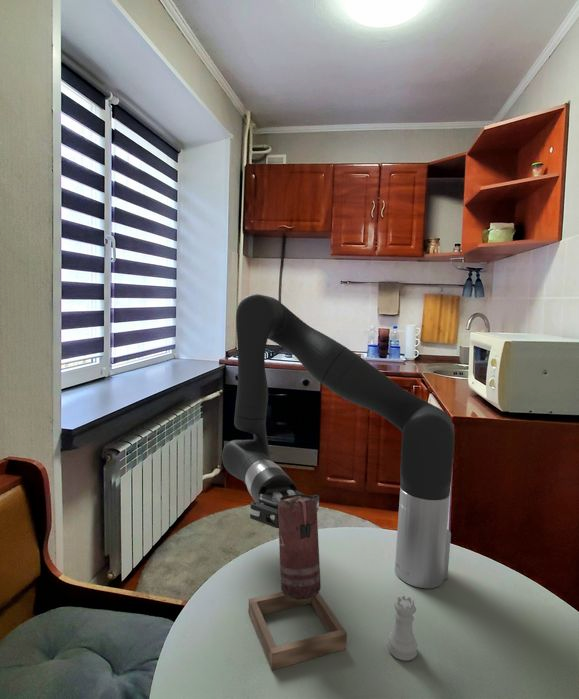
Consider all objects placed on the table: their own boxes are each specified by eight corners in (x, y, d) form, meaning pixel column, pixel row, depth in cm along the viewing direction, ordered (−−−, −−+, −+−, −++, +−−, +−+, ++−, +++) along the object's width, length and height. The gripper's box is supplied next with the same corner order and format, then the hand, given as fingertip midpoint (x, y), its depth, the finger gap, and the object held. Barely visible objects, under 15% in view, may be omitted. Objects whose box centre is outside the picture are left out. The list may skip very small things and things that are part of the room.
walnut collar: (313, 598, 75) (313, 585, 75) (346, 649, 64) (346, 633, 64) (248, 613, 71) (248, 599, 70) (271, 670, 59) (272, 653, 59)
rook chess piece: (418, 665, 61) (422, 613, 61) (387, 659, 62) (390, 608, 62) (415, 642, 66) (419, 594, 65) (386, 637, 67) (389, 589, 66)
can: (294, 604, 60) (290, 503, 62) (274, 589, 66) (271, 496, 68) (329, 594, 63) (324, 497, 65) (307, 580, 69) (303, 492, 71)
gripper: (236, 469, 76) (265, 514, 60) (302, 463, 81) (346, 504, 65) (234, 509, 77) (262, 564, 61) (300, 501, 82) (343, 550, 66)
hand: (306, 533), depth 63 cm, fingers closed
